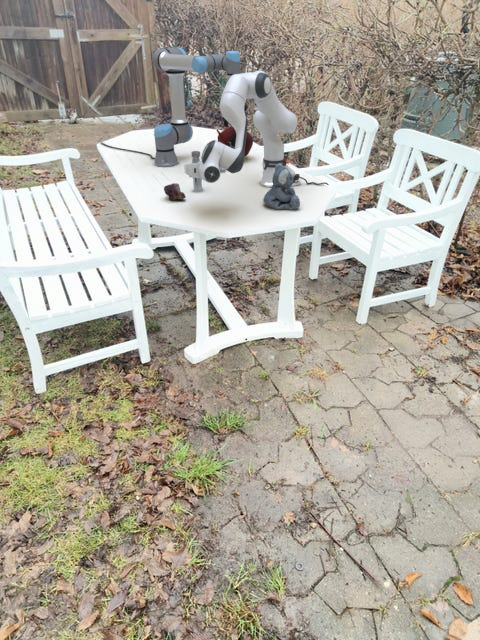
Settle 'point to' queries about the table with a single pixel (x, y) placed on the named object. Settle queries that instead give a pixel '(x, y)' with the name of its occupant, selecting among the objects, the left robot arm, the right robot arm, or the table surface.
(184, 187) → the table surface
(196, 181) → the bottle
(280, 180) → the koala plush
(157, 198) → the table surface
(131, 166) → the table surface
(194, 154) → the cap
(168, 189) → the rock
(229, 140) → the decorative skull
